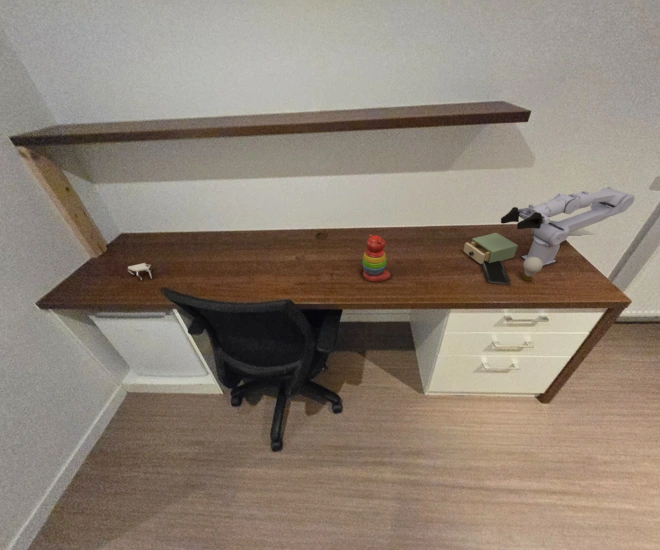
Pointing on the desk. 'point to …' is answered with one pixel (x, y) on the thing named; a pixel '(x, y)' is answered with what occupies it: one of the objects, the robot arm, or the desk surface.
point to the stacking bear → (375, 260)
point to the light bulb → (531, 267)
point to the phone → (495, 272)
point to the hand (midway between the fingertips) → (509, 223)
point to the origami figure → (139, 268)
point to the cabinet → (497, 246)
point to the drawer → (477, 252)
